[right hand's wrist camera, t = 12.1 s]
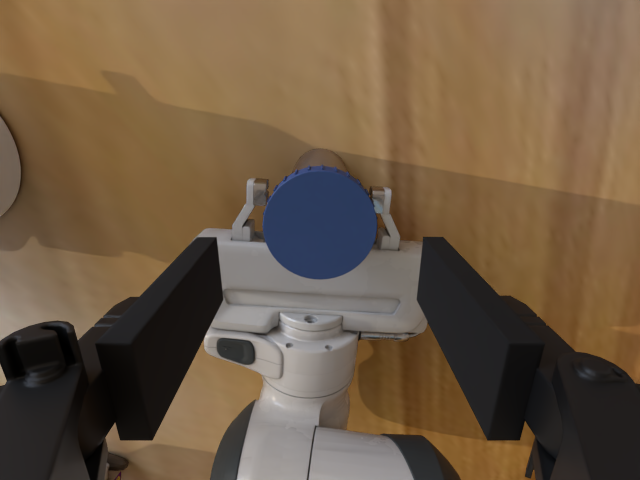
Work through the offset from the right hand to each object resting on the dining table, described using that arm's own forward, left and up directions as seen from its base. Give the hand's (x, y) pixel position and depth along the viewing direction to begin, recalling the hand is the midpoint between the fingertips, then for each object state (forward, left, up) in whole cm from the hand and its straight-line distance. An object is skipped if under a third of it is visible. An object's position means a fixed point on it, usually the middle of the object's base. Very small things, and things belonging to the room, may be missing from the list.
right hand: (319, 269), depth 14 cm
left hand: (0, 0, -14) cm, 14 cm away
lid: (0, 0, -6) cm, 6 cm away
